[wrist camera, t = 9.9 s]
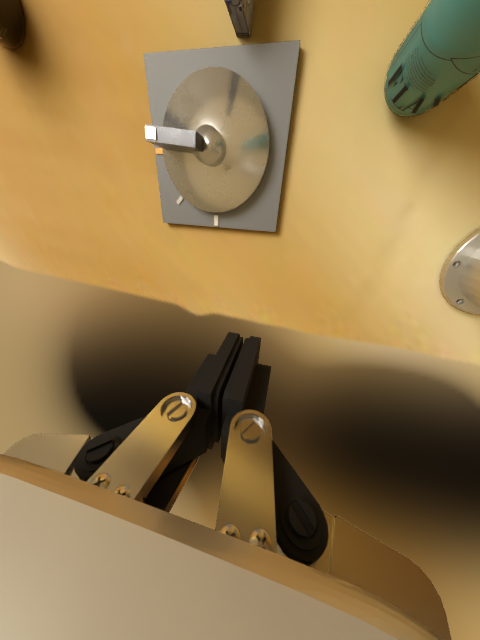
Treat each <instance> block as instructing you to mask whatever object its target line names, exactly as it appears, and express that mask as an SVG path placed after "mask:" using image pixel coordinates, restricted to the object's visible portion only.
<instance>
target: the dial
mask: <svg viewBox="0 0 480 640" xmlns="http://www.w3.org/2000/svg"><path fill="white" fill-rule="evenodd" d="M145 132H146V141H148V142H150V143H152V144H155V145H157V146H159V147H161V148H162V150H163V156H164V161H165V165H166V169H167V171H168V174H169V176H170V178H171V180H172V183H173V184H174V186H175V187H176V189H177V190H178V192H179V193H180V194H181V195H182V197H183V198H184V199H185V200H186V201H188V202H189V203H190V204H192V205H193V206H195V207H197V208H199V209H201V210H204V211H207V212H226V211H230V210H233V209H236V208H237V207H239V206H241V205H242V204H244V203H245V202H246V201H247V200H248V199H249V198H250V197H251V196H252V195H253V194H254V192H255V191H256V190H257V188H258V186H259V185H260V183H261V181H262V178H263V176H264V173H265V170H266V167H267V163H268V158H269V149H270V138H269V129H268V123H267V119H266V116H265V113H264V110H263V107H262V104H261V102H260V100H259V98H258V96H257V94H256V93H255V91H254V89H253V88H252V87H251V86H250V84H249V83H248V82H247V81H246V80H245V79H244V78H243V77H241V76H240V75H239V74H237V73H235V72H234V71H232V70H229V69H227V68H222V67H207V68H202V69H200V70H198V71H195V72H194V73H192V74H191V75H189V76H188V77H187V78H186V79H185V80H183V81H182V82H181V84H180V85H179V86H178V87H177V89H176V90H175V92H174V93H173V95H172V97H171V99H170V101H169V104H168V106H167V109H166V112H165V116H164V121H163V127H162V126H154V125H146V124H145Z"/></svg>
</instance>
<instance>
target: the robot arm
mask: <svg viewBox="0 0 480 640" xmlns="http://www.w3.org/2000/svg"><path fill="white" fill-rule="evenodd" d="M453 263H454V264H453ZM440 289H441V292H442V294H443V296H444V298H445V299H446V300H447V301H448V302H449V303H450V304H452V305H453V306H455V307H456V308H458V309H460V310H462V311H465V312H468V313H471V314H478V315H480V229H478V230H477V231H475V232H474V233H473V234H471V235H470V236H468V237H467V238H466V239H465V240H464V241H462V242H461V243H460V244H459V245H458V246H457V247H456V248H455V249H454V251H453V252H452V253H451V254H450V255H449V257H448V259H447V260H446V262H445V264H444V266H443V269H442V271H441V275H440ZM260 342H261V338H259V337H253V336H250V338H246V339H245V341H244V344H243V337H240V335H239V334H237V333H232V332H229V333H228V334H227V336H226V338H225V340H224V341H223V343H222V345H221V347H220V349H219V350H218V352H217V354H216V355H214V354H208V355H207V357H206V358H205V360H204V362H203V363H202V365H201V367H200V368H199V370H198V372H197V373H196V375H195V376H194V378H193V380H192V381H191V383H190V384H189V386H188V388H187V389H186V391H185V393H183V392H181V393H179V392H178V393H174V394H170V395H168V396H166V397H165V398H164V399H163V400H161V401H160V403H159V404H158V405H157V406H156V407H155V408H154V409H153V410H152V411H151V412H150V413H149V414H148V415H147V416H145V417H142V418H140V419H137V420H135V421H132V422H130V423H127V424H125V425H123V426H120V427H118V428H115V429H112V430H110V431H108V432H105V433H103V434H100V435H98V436H96V437H94V438H91V437H90V435H68V434H34V435H31V436H28V437H26V438H23V439H22V440H20V441H19V442H17V443H15V444H14V445H13V446H12V447H10V448H9V449H8V450H7V451H6V452H5V453H4V454H0V640H451V635H450V631H449V626H448V622H447V616H446V613H445V610H444V607H443V604H442V601H441V598H440V596H439V594H438V593H437V591H436V589H435V587H434V585H433V584H432V582H431V580H430V579H429V578H428V577H427V575H426V574H425V573H424V572H423V571H422V569H420V567H419V566H417V565H416V564H415V563H413V562H412V561H411V560H410V559H409V558H407V557H405V556H404V555H402V554H400V553H399V552H397V551H395V550H394V549H392V548H390V547H389V546H387V545H385V544H383V543H382V542H380V541H379V540H377V539H375V538H374V537H372V536H370V535H369V534H367V533H365V532H364V531H362V530H360V529H359V528H357V527H355V526H354V525H352V524H350V523H349V522H347V521H345V520H344V519H342V518H340V517H338V516H337V515H335V516H334V517H333V516H332V515H330V514H328V513H327V512H325V511H324V510H322V509H321V507H320V505H319V504H318V502H317V501H316V500H315V498H314V497H313V496H312V494H311V493H310V491H309V490H308V489H307V487H306V486H305V484H304V483H303V482H302V480H301V479H300V478H299V476H298V475H297V473H296V472H295V470H294V469H293V468H292V466H291V465H290V463H289V462H288V461H287V459H286V458H285V457H284V455H283V454H282V452H281V451H280V450H279V448H278V447H277V445H276V444H275V443H274V441H273V440H272V431H271V425H270V423H269V421H268V419H267V418H266V417H265V416H264V415H263V414H264V408H265V402H266V396H267V390H268V383H269V377H270V371H271V366H267V365H262V364H258V359H259V351H260ZM220 437H221V458H222V460H223V462H224V464H225V465H224V472H223V479H222V486H221V492H220V500H219V506H218V513H217V520H216V527H215V530H213V529H211V528H208V527H205V526H203V525H200V524H197V523H195V522H192V521H189V520H187V519H184V518H181V517H179V516H176V515H173V514H171V513H169V512H170V510H171V508H172V507H173V505H174V503H175V501H176V499H177V498H178V496H179V494H180V492H181V490H182V489H183V487H184V485H185V483H186V481H187V479H188V477H189V475H190V474H191V472H192V470H193V468H194V466H195V465H196V463H197V461H198V458H199V456H200V455H202V454H204V453H206V451H207V448H209V449H212V447H213V444H214V442H219V440H220Z"/></svg>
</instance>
